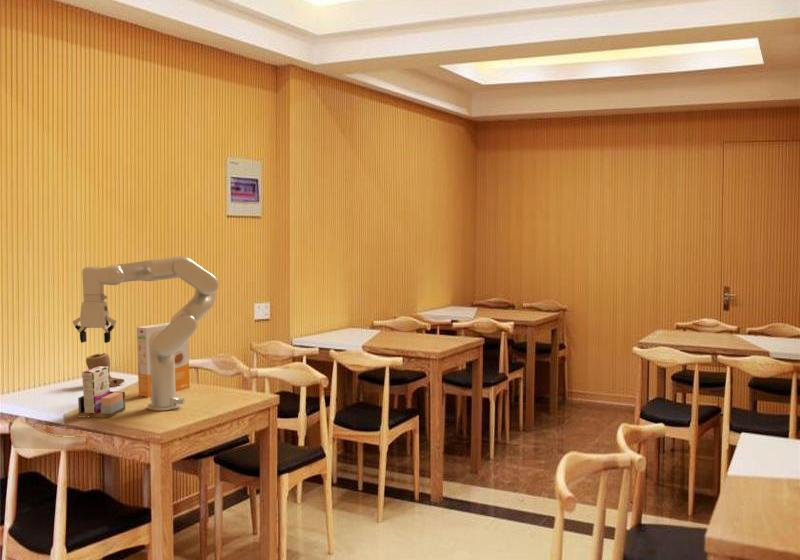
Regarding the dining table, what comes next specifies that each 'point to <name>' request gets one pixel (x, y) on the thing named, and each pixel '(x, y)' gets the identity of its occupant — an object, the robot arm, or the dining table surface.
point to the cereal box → (144, 361)
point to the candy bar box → (95, 388)
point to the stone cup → (102, 361)
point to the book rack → (105, 405)
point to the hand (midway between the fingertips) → (95, 342)
